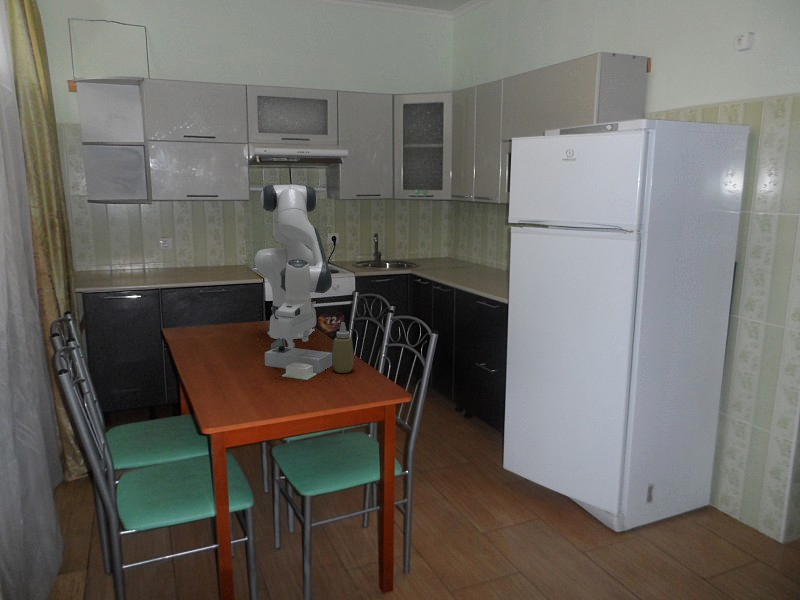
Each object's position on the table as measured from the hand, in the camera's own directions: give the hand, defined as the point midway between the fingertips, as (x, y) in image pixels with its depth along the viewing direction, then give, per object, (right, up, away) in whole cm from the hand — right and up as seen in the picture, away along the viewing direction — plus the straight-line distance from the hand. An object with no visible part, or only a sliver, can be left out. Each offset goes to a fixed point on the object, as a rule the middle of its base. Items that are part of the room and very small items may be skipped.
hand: (298, 344), depth 216 cm
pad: (+1, -11, -2) cm, 11 cm away
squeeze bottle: (+15, -10, +4) cm, 19 cm away
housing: (-1, -9, +9) cm, 13 cm away
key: (-9, -3, +7) cm, 12 cm away
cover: (+1, -10, -2) cm, 11 cm away
